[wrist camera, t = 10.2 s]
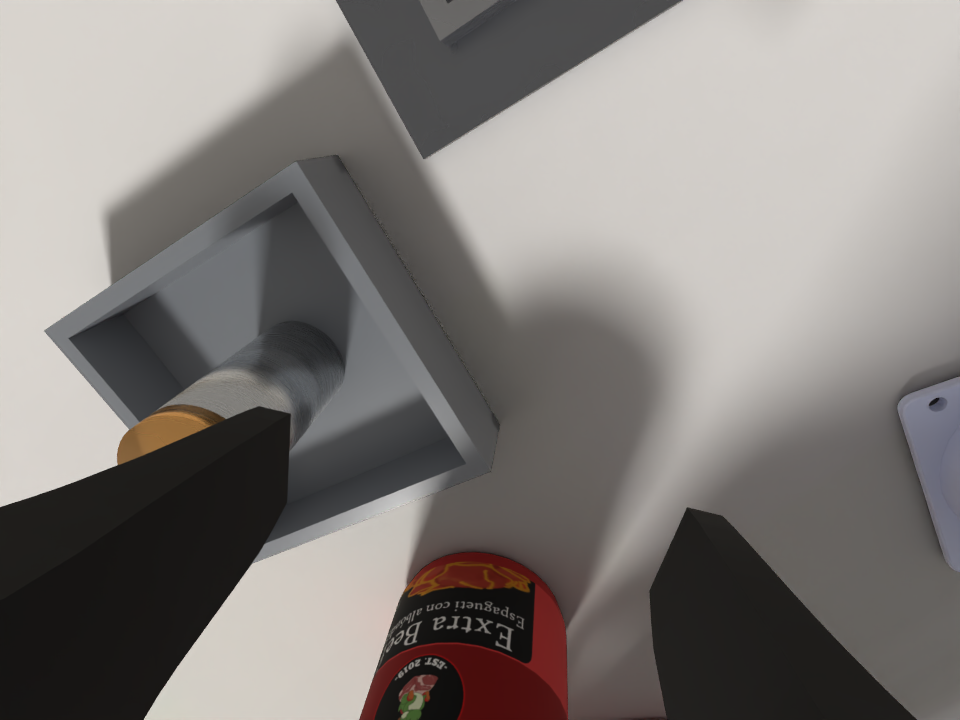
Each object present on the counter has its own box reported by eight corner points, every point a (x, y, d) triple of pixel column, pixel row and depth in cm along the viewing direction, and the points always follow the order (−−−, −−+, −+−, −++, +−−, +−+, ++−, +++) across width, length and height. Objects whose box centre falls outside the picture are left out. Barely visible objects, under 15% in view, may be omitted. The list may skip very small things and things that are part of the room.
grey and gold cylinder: (360, 357, 19) (265, 471, 13) (319, 420, 21) (215, 551, 14) (279, 303, 19) (140, 394, 13) (242, 371, 20) (101, 484, 14)
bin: (337, 154, 17) (295, 160, 14) (499, 424, 20) (490, 471, 18) (111, 302, 20) (44, 330, 18) (282, 514, 24) (246, 565, 21)
